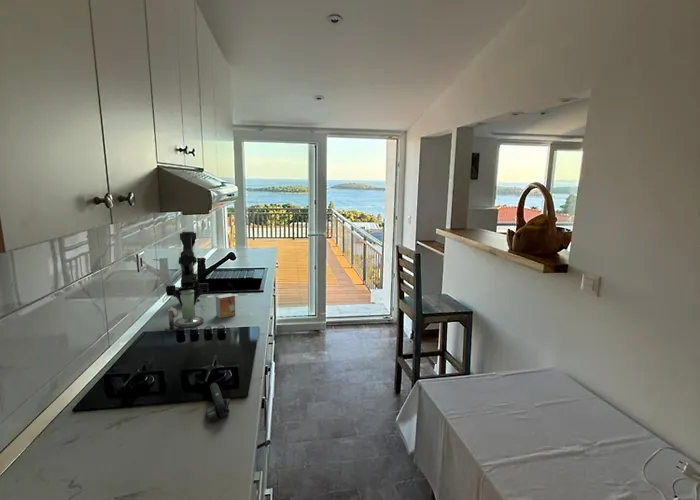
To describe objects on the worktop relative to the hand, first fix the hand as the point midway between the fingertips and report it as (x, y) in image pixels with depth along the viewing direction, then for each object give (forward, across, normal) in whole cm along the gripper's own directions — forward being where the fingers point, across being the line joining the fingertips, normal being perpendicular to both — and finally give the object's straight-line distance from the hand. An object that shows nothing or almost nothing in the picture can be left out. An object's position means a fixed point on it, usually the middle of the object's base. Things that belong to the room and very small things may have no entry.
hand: (188, 305), depth 179 cm
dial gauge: (+11, -7, +2) cm, 13 cm away
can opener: (+59, +10, -46) cm, 76 cm away
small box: (+2, +17, +12) cm, 21 cm away
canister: (+4, 0, +6) cm, 7 cm away
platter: (+6, 0, +7) cm, 9 cm away
